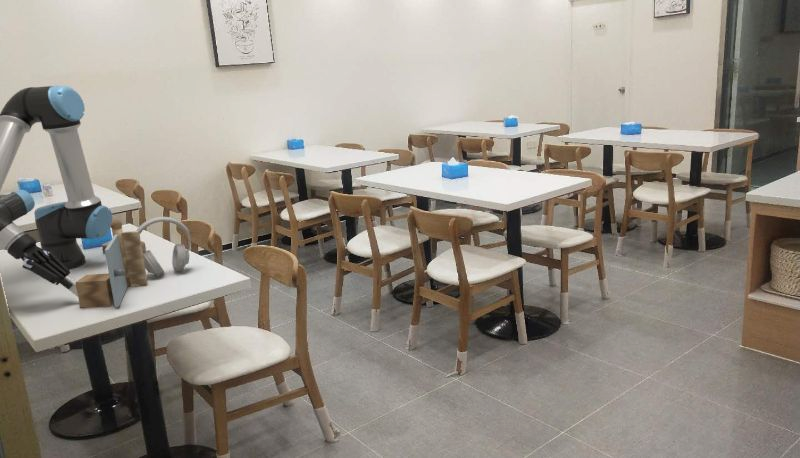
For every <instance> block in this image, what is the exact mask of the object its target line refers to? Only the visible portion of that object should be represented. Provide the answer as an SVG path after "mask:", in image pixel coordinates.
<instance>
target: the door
mask: <svg viewBox="0 0 800 458" xmlns="http://www.w3.org/2000/svg"><path fill="white" fill-rule="evenodd" d="M105 260H106V265H107V270H108V271H107V272H108V273H109V277H110V283H111V288H112V294H113V299H114V303H113V304H114V308H118V307H120V304H122V303H121V302H122V300H123V298H124V295H125V293H126V291H127V289H128V287H127V279H126V272H125V269H124V264H123V258H122V251H121V245H120V240H119V236H118V234H117V235H114V237H113V236H112V239H111V240H110V243H109V244H108V246H107V247H106V249H105Z"/></svg>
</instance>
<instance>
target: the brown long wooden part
mask: <svg viewBox="0 0 800 458" xmlns="http://www.w3.org/2000/svg"><path fill="white" fill-rule="evenodd" d="M110 226H111V228H110V229H111V232H112V238H113V237H114V235H117V234H118V236H119V240H120V245H121V251H122V258H123V264H124V269H125V272H126V279H127V288H129V287H142V286H147V285H148V284H149V282H148V276H147V270H146V269H145V264H144V258H143V253H144V252H142V246H141V241H142V239H141V234H139V231H136V230H134V231H132V230H131V231H124V230H123V223H122V221H120V220H119V219H115V220H112V222H111V225H110Z"/></svg>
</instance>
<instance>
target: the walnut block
mask: <svg viewBox="0 0 800 458" xmlns="http://www.w3.org/2000/svg"><path fill="white" fill-rule="evenodd" d="M75 283H76V288H77V293H78V297H77V298H78V303H79V307H80V308H95V307H97V308H98V307H110V306H112V305H113V304H114V299H113V294H112V288H111V283H110V277H109V272H108V273H93V274H85V275H84V276H82V277H81V278H80V279H79V280H76V282H75Z"/></svg>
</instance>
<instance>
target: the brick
mask: <svg viewBox="0 0 800 458" xmlns="http://www.w3.org/2000/svg"><path fill="white" fill-rule="evenodd" d="M110 241H111V240H110ZM110 241H107V242H104V243H102V244H101V247H102V248H101V250H102V254H103V255H104V254H105V249H106V247H107V246H108V244H109V243H110ZM141 246H142V252H143V253H145V252H146V251H147V247H146V242H145V241H142V240H141Z"/></svg>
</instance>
